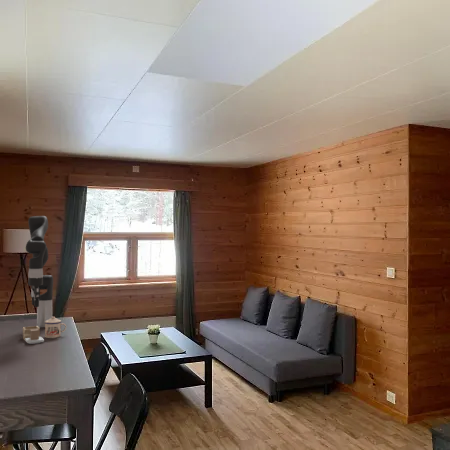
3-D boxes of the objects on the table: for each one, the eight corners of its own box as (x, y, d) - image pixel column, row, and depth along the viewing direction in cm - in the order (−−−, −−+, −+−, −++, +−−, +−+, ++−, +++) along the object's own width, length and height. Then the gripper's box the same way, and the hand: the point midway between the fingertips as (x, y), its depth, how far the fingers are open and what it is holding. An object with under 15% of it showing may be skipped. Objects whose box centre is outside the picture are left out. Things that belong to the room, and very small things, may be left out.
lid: (24, 341, 261) (25, 329, 261) (41, 340, 265) (41, 327, 265) (27, 345, 253) (27, 332, 254) (43, 343, 258) (44, 330, 258)
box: (22, 337, 271) (22, 327, 271) (37, 336, 275) (37, 325, 275) (24, 340, 264) (24, 329, 264) (39, 338, 268) (39, 328, 268)
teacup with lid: (44, 338, 268) (44, 318, 268) (44, 335, 277) (44, 315, 277) (66, 337, 273) (66, 317, 273) (65, 334, 281) (66, 314, 281)
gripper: (26, 275, 265) (26, 304, 265) (30, 278, 253) (30, 308, 252) (40, 275, 269) (40, 303, 268) (45, 277, 257) (44, 307, 256)
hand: (35, 305), depth 260 cm, fingers open, 8 cm apart
